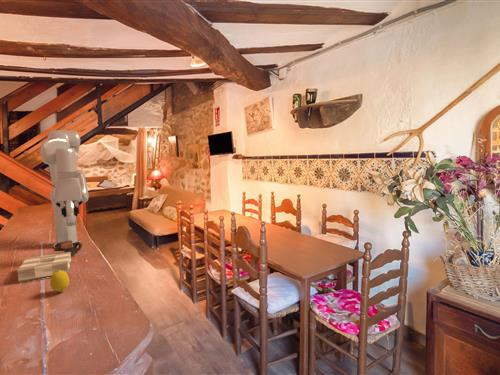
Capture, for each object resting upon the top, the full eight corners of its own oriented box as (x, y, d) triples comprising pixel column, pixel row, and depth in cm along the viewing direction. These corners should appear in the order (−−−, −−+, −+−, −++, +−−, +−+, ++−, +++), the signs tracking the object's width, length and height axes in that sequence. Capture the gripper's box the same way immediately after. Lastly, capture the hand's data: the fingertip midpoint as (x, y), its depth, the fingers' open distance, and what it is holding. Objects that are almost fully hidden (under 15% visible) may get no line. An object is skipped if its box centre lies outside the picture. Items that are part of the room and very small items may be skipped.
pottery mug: (54, 261, 137) (49, 244, 139) (61, 264, 146) (56, 248, 148) (82, 251, 142) (77, 235, 143) (87, 254, 150) (82, 239, 152)
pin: (66, 224, 137) (64, 198, 135) (76, 223, 139) (74, 198, 137) (65, 226, 133) (63, 200, 132) (76, 225, 135) (74, 199, 134)
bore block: (27, 269, 126) (26, 258, 126) (71, 262, 133) (70, 251, 133) (18, 283, 112) (17, 270, 111) (68, 274, 119) (67, 262, 119)
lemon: (66, 287, 107) (64, 265, 107) (72, 291, 104) (70, 269, 103) (48, 293, 103) (46, 270, 102) (54, 297, 100) (52, 274, 99)
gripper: (88, 174, 140) (91, 212, 143) (46, 176, 133) (49, 216, 135) (88, 175, 134) (91, 215, 136) (43, 177, 126) (47, 219, 128)
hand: (70, 215), depth 135 cm, fingers closed on pin, 4 cm apart
